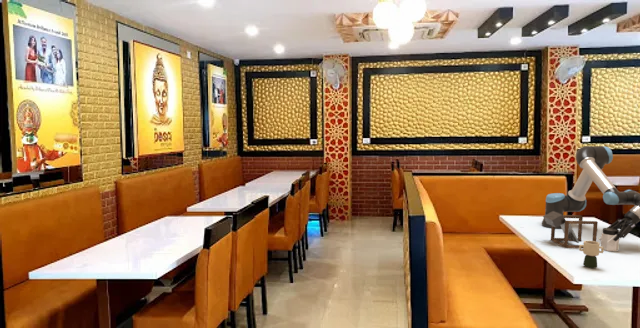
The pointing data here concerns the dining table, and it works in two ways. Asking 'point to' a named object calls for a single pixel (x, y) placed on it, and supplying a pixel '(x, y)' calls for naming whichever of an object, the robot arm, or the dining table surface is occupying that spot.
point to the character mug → (591, 253)
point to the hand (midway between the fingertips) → (604, 242)
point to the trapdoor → (560, 224)
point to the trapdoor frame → (580, 222)
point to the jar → (606, 236)
